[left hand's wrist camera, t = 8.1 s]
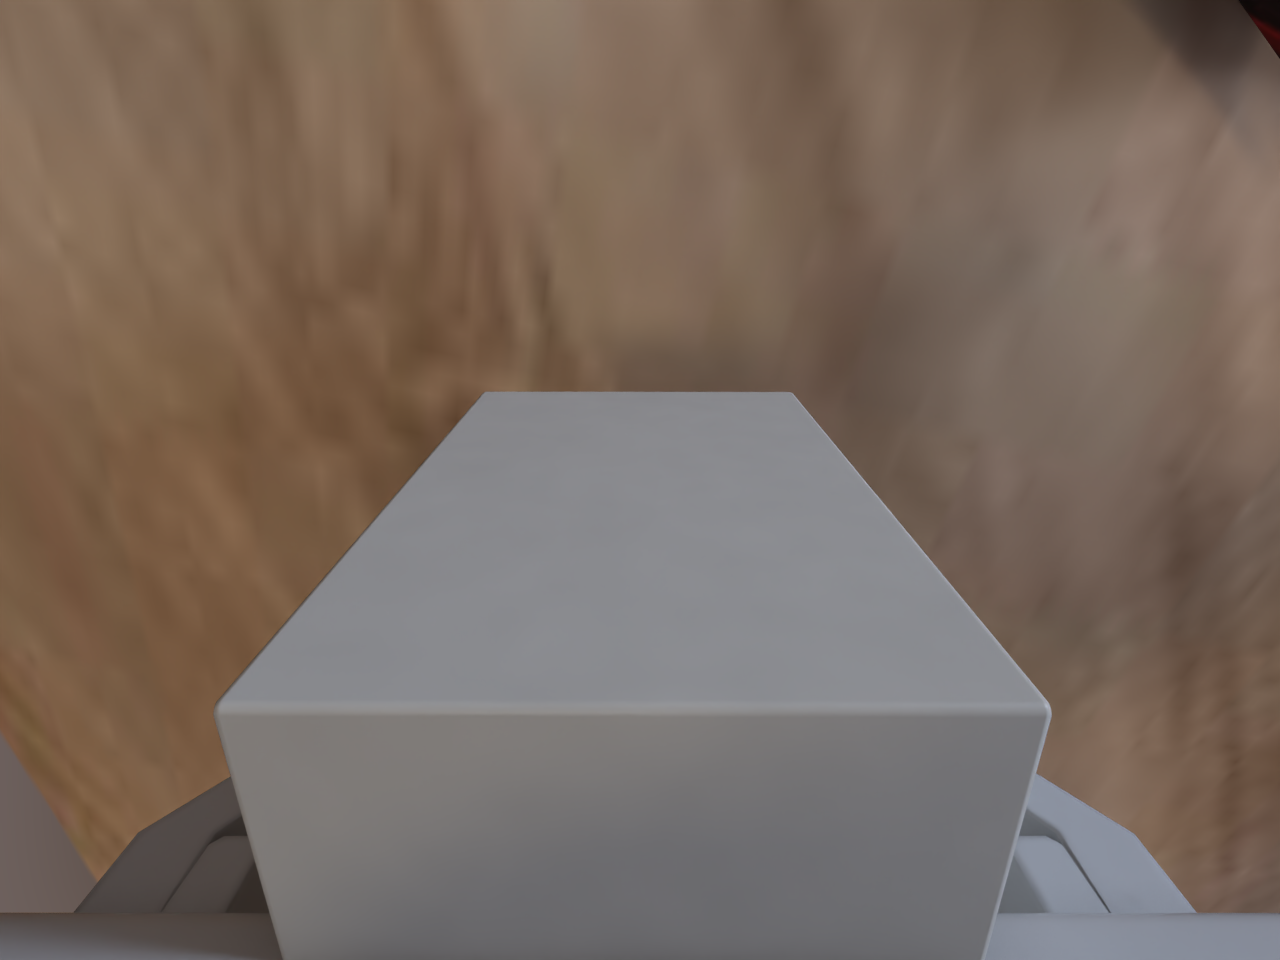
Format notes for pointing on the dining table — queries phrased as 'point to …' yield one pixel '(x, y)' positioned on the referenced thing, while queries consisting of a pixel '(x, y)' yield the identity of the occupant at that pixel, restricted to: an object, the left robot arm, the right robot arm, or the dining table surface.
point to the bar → (633, 706)
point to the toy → (1266, 19)
